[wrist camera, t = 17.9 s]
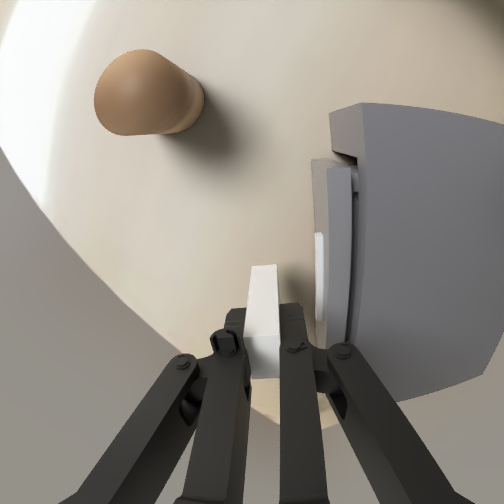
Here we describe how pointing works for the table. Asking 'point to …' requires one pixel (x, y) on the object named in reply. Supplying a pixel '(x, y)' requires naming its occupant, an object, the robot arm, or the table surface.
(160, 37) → the table surface
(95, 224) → the table surface
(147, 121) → the brown rounded peg
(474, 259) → the housing
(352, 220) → the grey drawer
